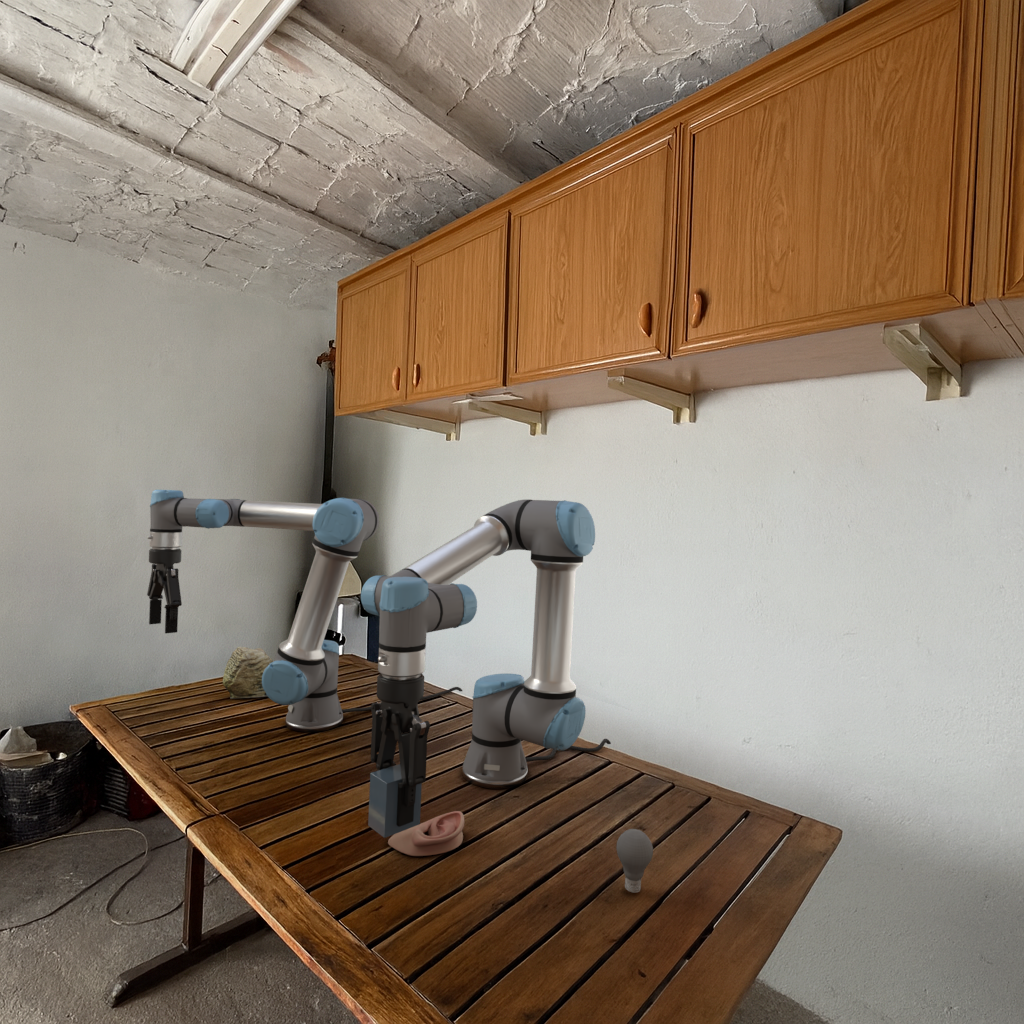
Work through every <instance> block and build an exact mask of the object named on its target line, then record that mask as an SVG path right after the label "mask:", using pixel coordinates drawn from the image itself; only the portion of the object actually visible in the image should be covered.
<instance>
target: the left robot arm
mask: <svg viewBox="0 0 1024 1024" xmlns="http://www.w3.org/2000/svg"><path fill="white" fill-rule="evenodd" d="M149 513H150V514H149V515H150V516H149V517H150V518H149V519H150V521H149V522H150V525H149V527H150V528H149V535H147V539H148V540H149V547H151V548H150V549H149V550H148V563H150V564H151V572H150V578H149V583H148V588H147V593H146V596H147V597H148V599H149V615H148V624H149V625H160V624H162V604H163V603H162V602H163V600H162V599H164V597H165V603H166V604H165V605H164V606H163V608H164V609H165V618H164V619H165V620H164V634H174V633H178V626H179V625H178V621H179V607H181V606H182V604H183V603H182V596H181V588H180V580H179V571H180V570H179V568H175V567H174V565H175V564H180V563H181V562H182V549H181V547H182V546H183V527H184V528H185V527H189V528H203V529H220V528H222V527H242V528H244V527H245V528H246V527H247V528H260V529H261V528H262V529H277V530H278V529H279V530H293V531H308V532H314V537H313V541H312V543H311V544H312V546H313V548H314V550H315V555H314V557H313V561H312V563H311V566H310V569H309V573H308V576H307V579H306V582H305V585H304V588H303V591H302V595H301V597H300V600H299V604H298V607H297V609H296V612H295V615H294V619H293V622H292V625H291V628H290V631H289V634H288V637H287V639H285V640H283V641H281V642H280V643H279V645H278V647H277V648H278V649H277V651H276V654H275V657H274V660H273V661H274V662H272V663H270V664H269V665H268V666H267V667H266V669H265V670H264V672H263V675H262V686H263V689H264V691H265V692H266V695H267V696H266V697H267V698H269V700H271V702H273V703H275V704H278V705H281V706H288V707H287V710H288V711H287V713H286V715H285V726H286V728H287V729H289V730H291V731H294V732H295V731H296V732H301V733H316V732H325V731H329V730H332V729H335V728H337V727H339V726H340V725H342V723H343V722H344V713H354V712H355V713H356V712H367V711H371V706H367V707H353V708H342V706H341V702H340V699H339V695H338V682H339V662H340V661H339V660H340V645H339V643H338V642H337V641H335V640H330V639H325V638H326V634H327V631H328V628H329V625H330V623H331V619H332V616H333V613H334V611H335V608H336V607H335V606H336V604H337V601H338V598H339V596H340V592H341V589H342V586H343V583H344V580H345V576H346V573H347V570H348V567H349V565H350V562H351V561H353V560H355V559H356V558H358V556H359V553H360V550H361V547H362V544H363V542H365V541H368V540H369V539H371V538H372V537H373V536H374V535H375V534H376V532H377V531H378V529H379V528H380V527H379V526H380V513H379V512H378V510H377V508H376V507H375V506H374V504H372V502H370V501H368V500H365V499H362V498H347V497H337V498H336V497H335V498H333V499H329V500H327V501H325V502H323V503H311V502H293V501H291V502H289V501H275V500H274V501H273V500H272V501H271V500H254V499H250V500H249V499H239V498H189V497H185V495H184V492H183V490H180V489H179V490H178V489H154V490H152V492H151V498H150V505H149ZM163 592H164V596H163ZM453 691H458V692H463V689H462V688H461V687H459V686H453V687H451V688H449V689H446V690H443V691H439V692H436V693H433V694H428V695H423V697H422V698H421V699H420V701H424V700H430V699H433V698H437V697H439V696H442V695H447V694H450V693H451V692H453Z"/></svg>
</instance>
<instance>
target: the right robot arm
mask: <svg viewBox="0 0 1024 1024" xmlns="http://www.w3.org/2000/svg"><path fill="white" fill-rule="evenodd" d="M595 542H596V528H595V521H594V518H593V516H592V513H591V512H590V510H589V509H588V507H587V506H585V504H583V503H581V502H578V501H570V500H550V499H549V500H547V499H518V500H515V501H511V502H509V503H506V504H504V505H500V506H499V507H496V508H495V509H493V510H490V511H489V512H487V513H485V514H484V515H482V516H480V517H478V518H477V519H476V520H475V522H474V524H473V526H472V527H471V528H469V529H467V530H466V531H464V532H462V533H461V534H459V535H457V536H456V537H454V538H452V539H450V540H449V541H447V542H445V543H444V544H442V545H440V546H438V548H436V549H434V550H432V551H431V552H428V553H427V554H426V555H424V556H421V558H419V559H416V560H415V561H413V562H412V563H410V564H409V565H407V566H405V567H404V568H402V569H400V570H399V571H397V572H395V573H393V574H391V575H389V576H388V575H386V574H385V575H384V574H382V575H373V576H370V577H369V578H368V579H367V580H366V581H365V582H364V584H363V585H362V589H361V591H360V601H361V605H362V608H363V609H364V610H365V611H366V612H367V613H369V614H370V615H374V616H377V617H379V627H378V628H379V630H378V631H379V633H378V636H379V637H378V658H377V661H378V662H377V663H378V664H377V671H378V673H379V674H378V675H377V676H376V697H377V699H378V700H379V701H377V702H372V703H371V704H370V707H371V710H370V711H371V719H372V720H371V736H370V737H371V739H370V740H371V741H370V743H371V744H370V762H371V763H372V764H375V768H376V771H379V770H382V769H385V768H388V767H392V766H395V765H397V763H396V762H395V761H394V758H395V754H396V749H397V747H398V756H399V757H398V758H399V764H400V769H401V779H402V782H401V783H398V801H397V826H399V827H400V826H403V825H405V824H408V823H411V822H413V819H414V804H415V797H416V785H417V784H420V783H422V784H423V783H425V782H426V780H427V758H428V756H427V755H428V736H429V735H428V734H429V731H430V729H431V722H430V721H429V720H424V721H423V719H422V718H421V717H420V711H419V706H418V705H419V702H420V701H421V700H420V699H421V698H422V697H424V696H425V676H424V672H425V671H426V653H427V650H426V649H427V634H428V633H433V632H437V631H444V630H448V629H456V628H459V627H462V626H464V625H467V624H469V623H471V621H473V620H474V618H475V616H476V614H477V612H478V600H477V597H476V594H475V592H474V590H473V588H471V587H470V586H468V585H467V584H465V583H453V582H455V581H456V580H458V579H459V578H461V577H462V576H464V575H465V574H467V573H468V572H470V571H471V570H473V569H474V568H475V567H477V566H479V565H480V564H482V563H483V562H485V561H486V560H488V559H490V558H491V557H499V556H501V555H503V554H505V553H506V552H508V551H509V552H510V551H527V552H528V551H530V561H531V563H532V564H533V565H534V566H535V568H536V577H535V578H536V580H535V594H534V595H535V596H534V615H533V616H534V617H533V635H532V651H531V668H530V669H531V672H530V676H529V677H527V678H526V679H525V677H524V676H523V675H522V674H518V673H493V674H488V675H485V676H481V677H480V678H478V679H477V680H476V681H475V682H474V686H473V694H472V719H471V720H472V721H471V722H472V723H471V741H470V744H469V746H468V750H467V752H466V755H465V758H464V761H463V763H462V774H461V775H462V777H463V779H464V780H465V781H467V782H468V783H470V784H472V785H474V786H478V787H481V788H486V789H498V790H499V789H509V788H515V787H517V786H520V785H521V784H523V783H524V782H525V781H526V780H527V779H528V774H529V771H528V770H529V767H528V763H529V762H537V761H548V760H551V759H553V758H554V757H555V755H556V753H557V752H559V751H561V752H562V751H566V750H571V751H578V752H584V753H595V752H598V751H600V750H602V749H603V747H604V746H605V745H606V744H607V745H611V744H612V742H611V741H610V740H609V739H608V738H604V739H602V740H601V742H600V744H598V745H597V746H596V747H595V746H594V747H581V746H577V745H574V744H575V743H576V741H577V740H578V738H579V736H580V734H581V732H582V729H583V728H584V723H585V719H586V705H585V702H584V701H583V700H582V699H581V698H580V697H577V685H576V684H575V682H574V681H573V680H572V679H571V665H572V664H571V661H572V643H573V628H574V627H573V626H574V610H575V609H574V607H575V592H576V591H575V590H576V573H577V570H578V568H580V567H581V566H582V565H583V564H584V557H586V556H588V555H590V554H591V552H592V551H593V549H594V548H593V546H594V545H595ZM522 741H524V742H528V743H531V744H534V745H537V746H540V747H543V748H544V749H548V750H549V749H550V750H551V752H550V754H548V755H538V756H529V757H526V755H525V751H524V748H523V745H522ZM408 776H409V777H408Z"/></svg>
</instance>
